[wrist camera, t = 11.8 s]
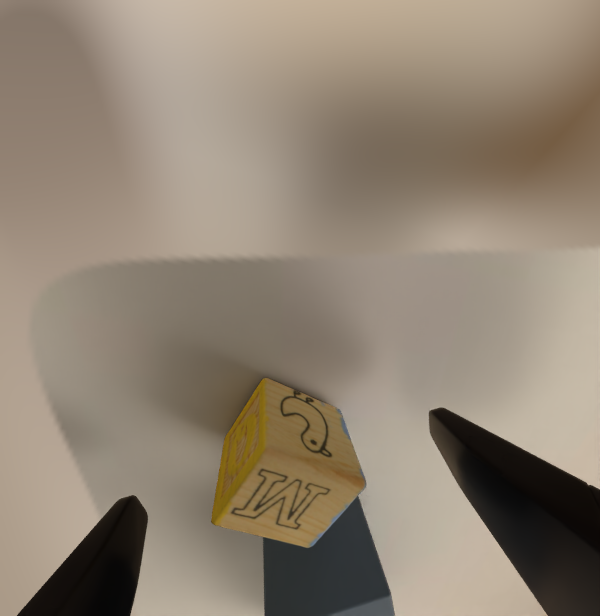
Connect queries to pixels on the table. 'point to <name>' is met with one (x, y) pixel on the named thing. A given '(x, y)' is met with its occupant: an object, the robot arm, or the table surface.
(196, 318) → the table surface
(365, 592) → the stacked grey-blue cubes
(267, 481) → the alphabet block
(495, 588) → the table surface
